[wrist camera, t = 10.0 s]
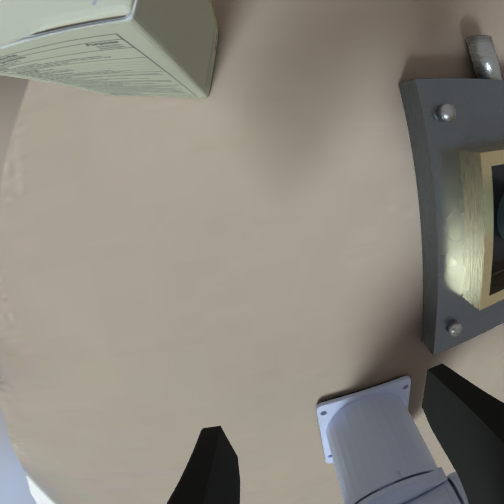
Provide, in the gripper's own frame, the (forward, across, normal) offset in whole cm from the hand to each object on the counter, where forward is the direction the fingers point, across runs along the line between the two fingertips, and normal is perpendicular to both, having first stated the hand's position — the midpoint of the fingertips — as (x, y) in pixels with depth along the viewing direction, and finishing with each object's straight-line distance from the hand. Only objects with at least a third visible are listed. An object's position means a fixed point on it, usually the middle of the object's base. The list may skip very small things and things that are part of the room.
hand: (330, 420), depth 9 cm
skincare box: (+11, +4, -14) cm, 19 cm away
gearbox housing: (+10, -16, -3) cm, 19 cm away
